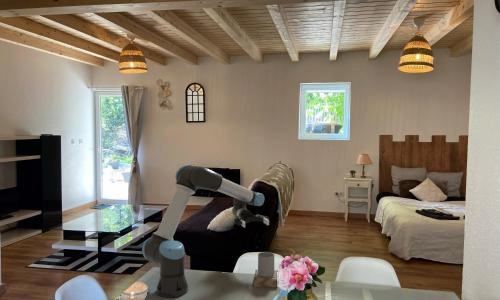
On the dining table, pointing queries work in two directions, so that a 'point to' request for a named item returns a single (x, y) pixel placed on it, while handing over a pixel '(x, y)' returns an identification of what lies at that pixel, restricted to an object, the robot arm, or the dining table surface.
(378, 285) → the dining table surface
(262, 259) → the cup
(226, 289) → the dining table surface
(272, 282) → the plinth
